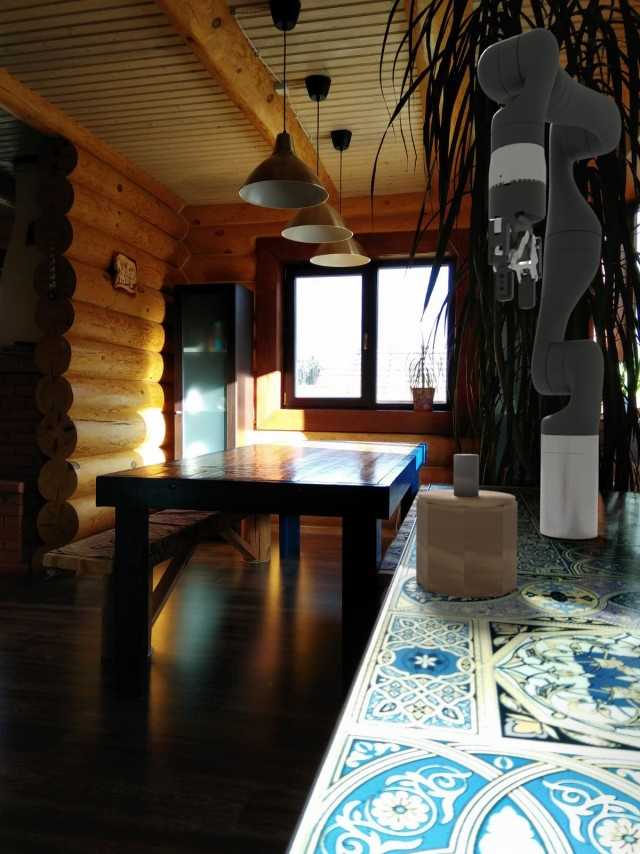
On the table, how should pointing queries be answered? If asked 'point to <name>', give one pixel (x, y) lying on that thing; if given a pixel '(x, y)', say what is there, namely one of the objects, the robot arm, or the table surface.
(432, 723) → the table surface
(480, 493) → the tan jar with knob
